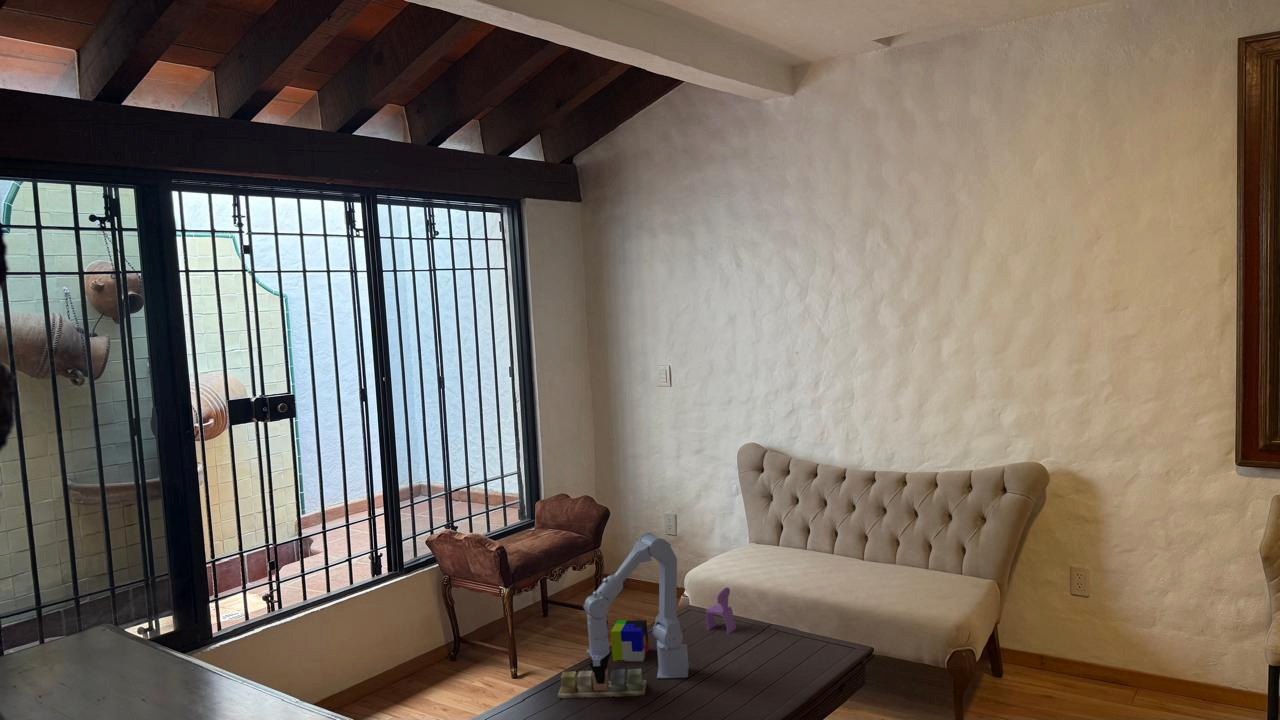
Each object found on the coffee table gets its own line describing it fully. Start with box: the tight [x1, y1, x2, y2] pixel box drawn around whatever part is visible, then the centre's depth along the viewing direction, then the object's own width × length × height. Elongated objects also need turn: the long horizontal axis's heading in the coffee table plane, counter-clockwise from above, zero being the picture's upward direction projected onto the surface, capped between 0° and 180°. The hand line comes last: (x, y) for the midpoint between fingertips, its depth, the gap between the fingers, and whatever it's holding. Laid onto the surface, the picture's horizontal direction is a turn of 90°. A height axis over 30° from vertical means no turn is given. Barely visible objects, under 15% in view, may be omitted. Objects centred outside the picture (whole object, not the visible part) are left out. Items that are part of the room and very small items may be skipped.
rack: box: [557, 668, 647, 699], centre depth 267 cm, size 26×8×6 cm, turn 85°
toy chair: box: [705, 586, 738, 635], centre depth 310 cm, size 8×9×15 cm
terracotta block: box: [592, 668, 609, 691], centre depth 267 cm, size 4×4×5 cm
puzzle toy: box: [610, 619, 650, 662], centre depth 293 cm, size 10×10×10 cm
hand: (601, 680), depth 267 cm, fingers closed on terracotta block, 4 cm apart
